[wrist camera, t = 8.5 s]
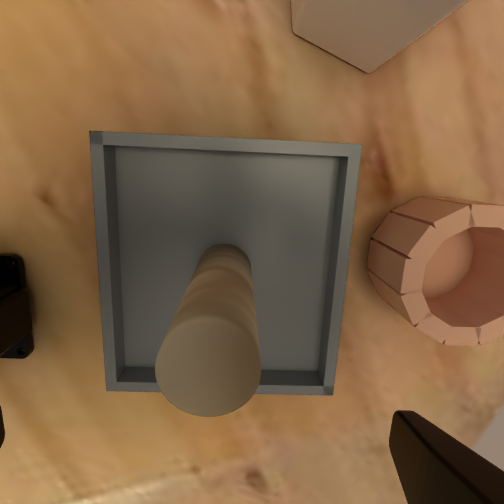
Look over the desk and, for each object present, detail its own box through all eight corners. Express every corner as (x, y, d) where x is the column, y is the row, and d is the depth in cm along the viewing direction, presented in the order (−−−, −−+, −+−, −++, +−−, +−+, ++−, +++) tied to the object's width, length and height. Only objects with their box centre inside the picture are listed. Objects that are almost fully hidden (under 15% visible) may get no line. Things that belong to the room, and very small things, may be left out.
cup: (361, 307, 21) (392, 343, 17) (376, 194, 20) (414, 201, 15) (470, 310, 22) (528, 347, 17) (493, 199, 20) (564, 208, 15)
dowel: (197, 293, 20) (156, 415, 10) (198, 242, 19) (153, 321, 9) (249, 294, 20) (258, 417, 10) (252, 244, 19) (264, 324, 9)
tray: (121, 366, 22) (106, 390, 19) (109, 135, 18) (89, 130, 16) (322, 370, 22) (332, 395, 20) (346, 147, 19) (362, 144, 16)
